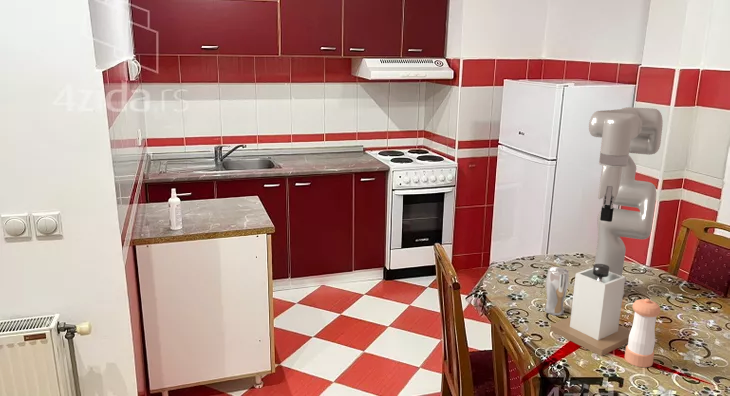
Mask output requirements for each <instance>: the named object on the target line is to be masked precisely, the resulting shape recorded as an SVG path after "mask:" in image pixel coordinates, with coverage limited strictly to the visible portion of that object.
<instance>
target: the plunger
mask: <svg viewBox="0 0 730 396" xmlns="http://www.w3.org/2000/svg"><path fill="white" fill-rule="evenodd" d="M592 268H593V274H594V275H596V276H598V278H597V281H600V282H602V279H603V277H607V276H608V275H609V266H607V265H604V264H595V263H594V264H593V267H592Z"/></svg>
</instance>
